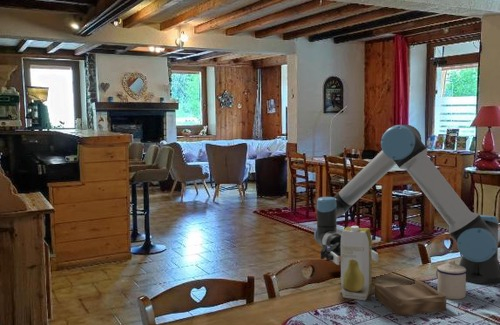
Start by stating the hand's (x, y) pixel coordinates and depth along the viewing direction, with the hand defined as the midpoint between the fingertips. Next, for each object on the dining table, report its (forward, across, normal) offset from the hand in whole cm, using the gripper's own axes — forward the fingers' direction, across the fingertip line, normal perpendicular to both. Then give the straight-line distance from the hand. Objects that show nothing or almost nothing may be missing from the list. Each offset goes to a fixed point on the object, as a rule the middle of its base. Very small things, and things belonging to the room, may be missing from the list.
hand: (357, 259), depth 162 cm
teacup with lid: (+4, -30, -13) cm, 33 cm away
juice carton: (-1, 0, -13) cm, 13 cm away
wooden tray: (+9, -13, -13) cm, 21 cm away
